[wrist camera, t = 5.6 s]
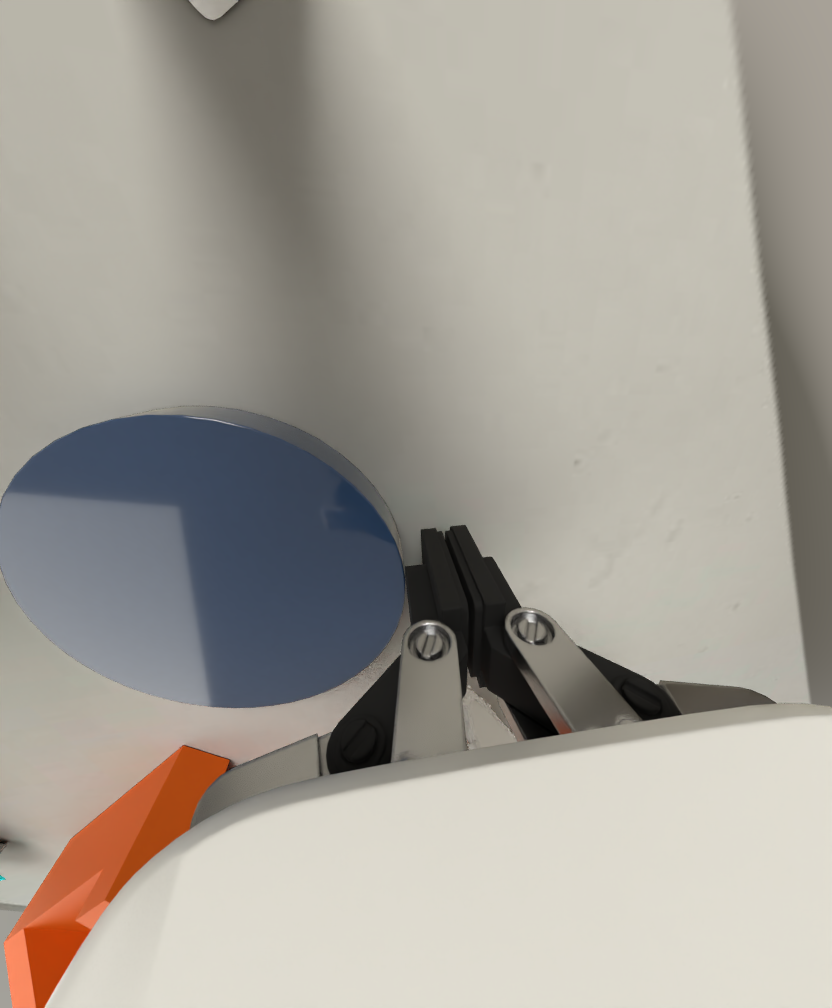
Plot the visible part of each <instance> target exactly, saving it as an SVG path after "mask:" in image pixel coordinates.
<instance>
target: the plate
mask: <svg viewBox="0 0 832 1008" xmlns="http://www.w3.org/2000/svg"><path fill="white" fill-rule="evenodd" d="M0 569H1V571H2V574H3V577H4V580H5V583H6V585H7V586H8V588H9V590H10V592H11V594H12V595H13V597H14V599H15V601H16V603H17V604H18V605H19V607H20V608H21V609H22V611H23V612H24V613H25V614H26V616H27V617H28V618H29V620H30V621H31V622H32V623H33V624H34V625H35V626H36V627H37V628H38V629H39V630H40V631H41V632H42V633H43V634H44V635H45V636H46V637H47V638H48V639H49V640H50V641H51V642H52V643H54V644H55V645H56V646H57V647H59V648H60V649H61V650H62V651H63V652H65V653H66V654H68V655H69V656H71V657H72V658H74V659H75V660H77V661H78V662H80V663H81V664H83V665H84V666H86V667H87V668H89V669H91V670H93V671H95V672H97V673H98V674H100V675H102V676H104V677H106V678H108V679H110V680H113V681H115V682H117V683H119V684H122V685H124V686H126V687H129V688H132V689H134V690H137V691H140V692H143V693H146V694H149V695H152V696H156V697H160V698H163V699H167V700H171V701H176V702H181V703H186V704H192V705H200V706H208V707H221V708H255V707H265V706H274V705H280V704H285V703H291V702H295V701H299V700H303V699H306V698H310V697H313V696H315V695H318V694H321V693H324V692H326V691H328V690H331V689H333V688H335V687H337V686H339V685H341V684H343V683H344V682H346V681H348V680H349V679H351V678H353V677H354V676H356V675H357V674H358V673H360V672H361V671H362V670H364V669H365V668H366V667H367V666H369V665H370V664H371V663H372V662H373V661H374V660H375V659H376V658H377V657H378V656H379V655H380V653H381V652H382V651H383V649H384V648H385V647H386V645H387V644H388V643H389V641H390V640H391V638H392V636H393V634H394V632H395V630H396V628H397V626H398V623H399V621H400V618H401V615H402V612H403V606H404V600H405V572H404V563H403V555H402V549H401V542H400V537H399V534H398V531H397V528H396V525H395V522H394V519H393V517H392V515H391V513H390V511H389V509H388V507H387V505H386V503H385V502H384V500H383V499H382V497H381V496H380V494H379V493H378V492H377V490H376V489H375V487H374V486H373V485H372V484H371V482H370V481H369V480H368V479H367V478H366V477H365V476H364V475H363V474H362V473H361V471H360V470H359V469H358V468H356V467H355V466H354V465H353V464H352V463H351V462H350V461H348V460H347V459H346V458H345V457H344V456H343V455H341V454H340V453H339V452H337V451H336V450H334V449H333V448H331V447H330V446H328V445H327V444H325V443H324V442H322V441H321V440H319V439H318V438H316V437H314V436H312V435H310V434H308V433H306V432H304V431H302V430H300V429H298V428H296V427H294V426H291V425H289V424H286V423H283V422H281V421H278V420H275V419H273V418H270V417H267V416H263V415H259V414H255V413H251V412H247V411H243V410H238V409H230V408H222V407H214V406H179V407H171V408H163V409H156V410H151V411H146V412H142V413H137V414H133V415H128V416H124V417H119V418H115V419H111V420H107V421H104V422H100V423H97V424H93V425H89V426H86V427H82V428H80V429H78V430H76V431H74V432H72V433H69V434H67V435H65V436H63V437H61V438H59V439H56V440H55V441H53V442H52V443H50V444H49V445H48V446H46V447H45V448H43V449H42V450H41V451H39V452H38V453H36V454H35V455H34V456H32V457H31V459H30V460H29V461H28V462H27V463H26V464H25V465H24V466H23V467H22V468H21V469H20V470H19V471H18V472H17V474H16V475H15V476H14V477H13V479H12V481H11V483H10V484H9V486H8V488H7V489H6V491H5V493H4V495H3V497H2V500H1V503H0Z"/></svg>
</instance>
